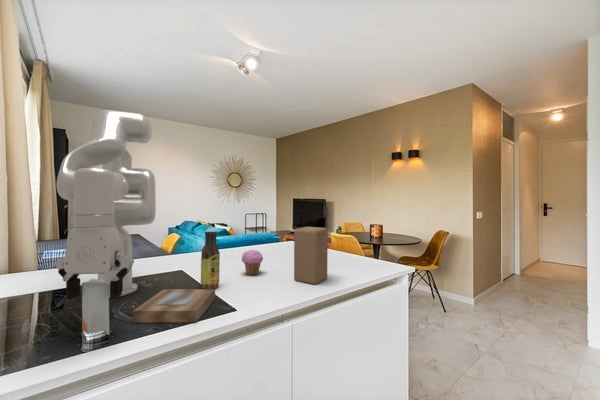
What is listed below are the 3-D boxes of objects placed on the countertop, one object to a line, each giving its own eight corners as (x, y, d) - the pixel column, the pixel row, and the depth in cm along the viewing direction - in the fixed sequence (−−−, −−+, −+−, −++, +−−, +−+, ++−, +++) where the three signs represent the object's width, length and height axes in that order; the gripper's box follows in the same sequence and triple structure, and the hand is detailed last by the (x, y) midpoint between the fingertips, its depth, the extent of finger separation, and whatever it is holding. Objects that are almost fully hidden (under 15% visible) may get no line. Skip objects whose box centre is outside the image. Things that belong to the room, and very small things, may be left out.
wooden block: (328, 278, 107) (328, 227, 107) (315, 285, 99) (316, 230, 99) (306, 274, 113) (306, 226, 112) (293, 280, 104) (293, 228, 104)
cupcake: (264, 275, 111) (264, 251, 110) (242, 277, 108) (242, 252, 108) (261, 270, 119) (261, 247, 119) (240, 271, 117) (240, 248, 117)
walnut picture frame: (132, 322, 69) (132, 309, 69) (163, 298, 85) (163, 288, 85) (196, 322, 70) (196, 310, 70) (215, 298, 86) (215, 288, 86)
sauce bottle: (213, 291, 93) (213, 232, 92) (197, 289, 94) (196, 232, 94) (222, 284, 99) (222, 230, 99) (207, 283, 100) (207, 229, 100)
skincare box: (81, 333, 64) (81, 282, 64) (103, 327, 67) (103, 278, 67) (86, 342, 60) (86, 288, 60) (110, 335, 63) (109, 283, 63)
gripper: (41, 224, 59) (41, 303, 59) (122, 223, 59) (122, 302, 59) (70, 221, 67) (70, 292, 66) (141, 221, 67) (142, 291, 66)
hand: (94, 297), depth 63 cm, fingers open, 9 cm apart
